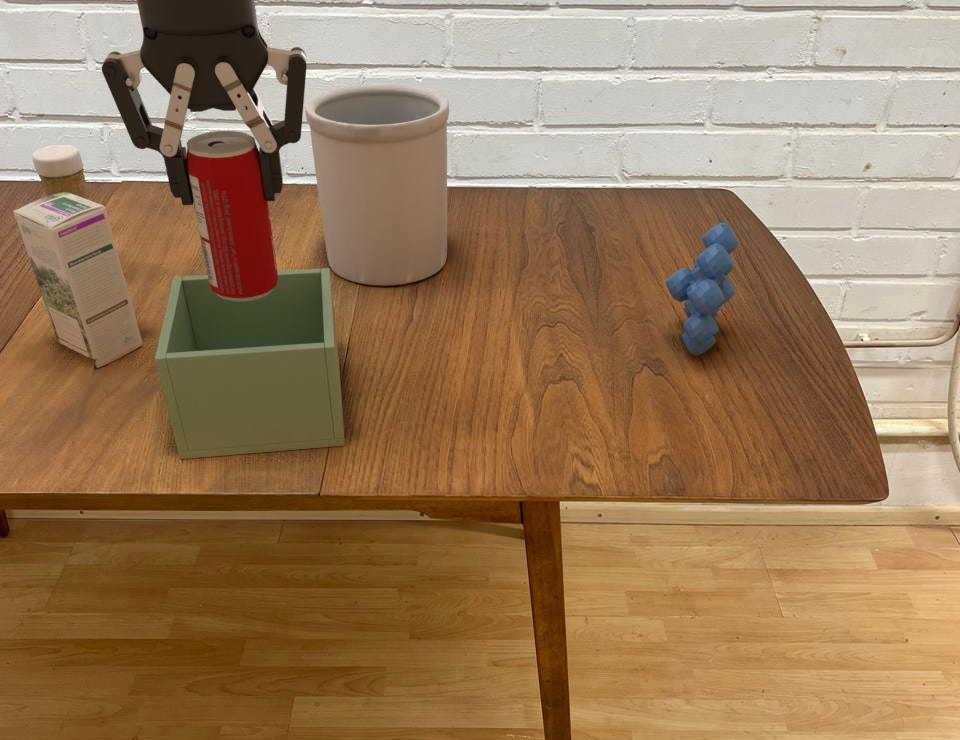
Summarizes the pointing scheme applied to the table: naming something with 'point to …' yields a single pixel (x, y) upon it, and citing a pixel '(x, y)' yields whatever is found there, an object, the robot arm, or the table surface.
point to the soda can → (232, 214)
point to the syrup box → (80, 275)
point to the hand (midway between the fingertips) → (229, 198)
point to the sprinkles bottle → (61, 170)
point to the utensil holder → (381, 180)
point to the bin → (251, 367)
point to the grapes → (705, 288)
